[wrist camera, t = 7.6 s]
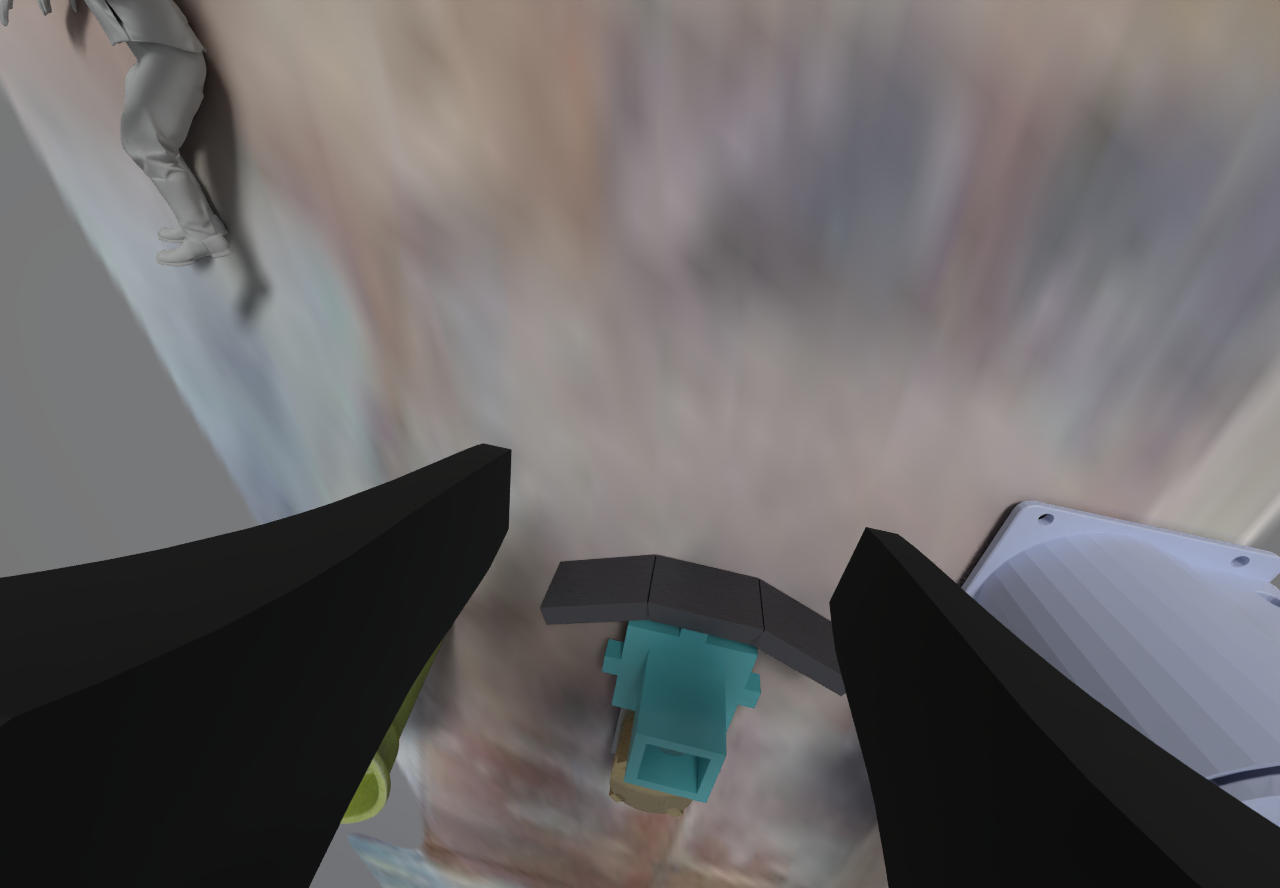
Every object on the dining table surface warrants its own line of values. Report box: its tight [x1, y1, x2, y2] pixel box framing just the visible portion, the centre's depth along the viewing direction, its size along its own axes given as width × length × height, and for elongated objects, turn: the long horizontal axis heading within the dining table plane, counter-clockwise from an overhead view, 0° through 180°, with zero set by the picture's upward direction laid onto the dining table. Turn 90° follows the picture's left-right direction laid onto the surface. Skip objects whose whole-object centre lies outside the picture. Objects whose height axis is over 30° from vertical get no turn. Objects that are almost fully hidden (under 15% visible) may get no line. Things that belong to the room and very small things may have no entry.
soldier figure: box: [0, 0, 233, 266], centre depth 14 cm, size 8×5×12 cm
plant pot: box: [340, 636, 445, 824], centre depth 22 cm, size 9×9×9 cm
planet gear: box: [602, 620, 761, 803], centre depth 21 cm, size 8×8×5 cm
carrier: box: [540, 555, 846, 817], centre depth 23 cm, size 14×15×5 cm
